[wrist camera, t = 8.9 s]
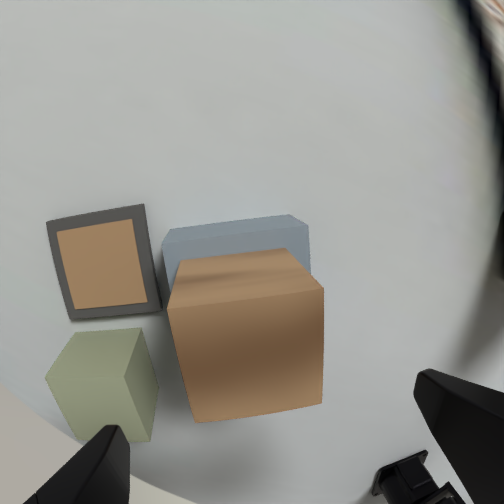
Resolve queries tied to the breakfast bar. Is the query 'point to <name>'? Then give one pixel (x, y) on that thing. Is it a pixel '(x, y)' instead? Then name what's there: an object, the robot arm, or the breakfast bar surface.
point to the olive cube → (106, 383)
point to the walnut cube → (248, 334)
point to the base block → (236, 240)
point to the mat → (105, 263)
